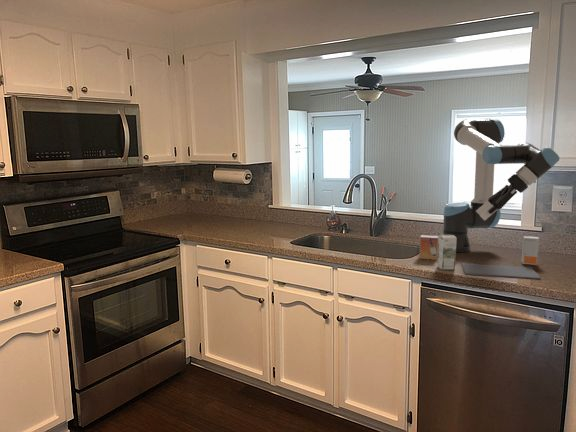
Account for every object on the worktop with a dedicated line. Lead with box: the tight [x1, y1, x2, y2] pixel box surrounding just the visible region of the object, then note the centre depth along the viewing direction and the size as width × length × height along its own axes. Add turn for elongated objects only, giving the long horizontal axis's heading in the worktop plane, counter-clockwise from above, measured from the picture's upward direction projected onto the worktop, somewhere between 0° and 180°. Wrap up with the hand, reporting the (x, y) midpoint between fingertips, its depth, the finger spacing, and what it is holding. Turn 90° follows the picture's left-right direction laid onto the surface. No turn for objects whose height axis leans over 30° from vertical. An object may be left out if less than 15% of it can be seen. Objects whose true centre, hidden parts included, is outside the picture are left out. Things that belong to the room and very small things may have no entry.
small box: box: [418, 234, 439, 261], centre depth 219 cm, size 8×6×10 cm
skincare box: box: [520, 235, 540, 266], centre depth 207 cm, size 6×4×12 cm
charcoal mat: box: [461, 263, 542, 280], centre depth 196 cm, size 16×28×1 cm, turn 74°
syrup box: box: [436, 234, 457, 271], centre depth 200 cm, size 6×6×14 cm
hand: (479, 215), depth 194 cm, fingers open, 13 cm apart
